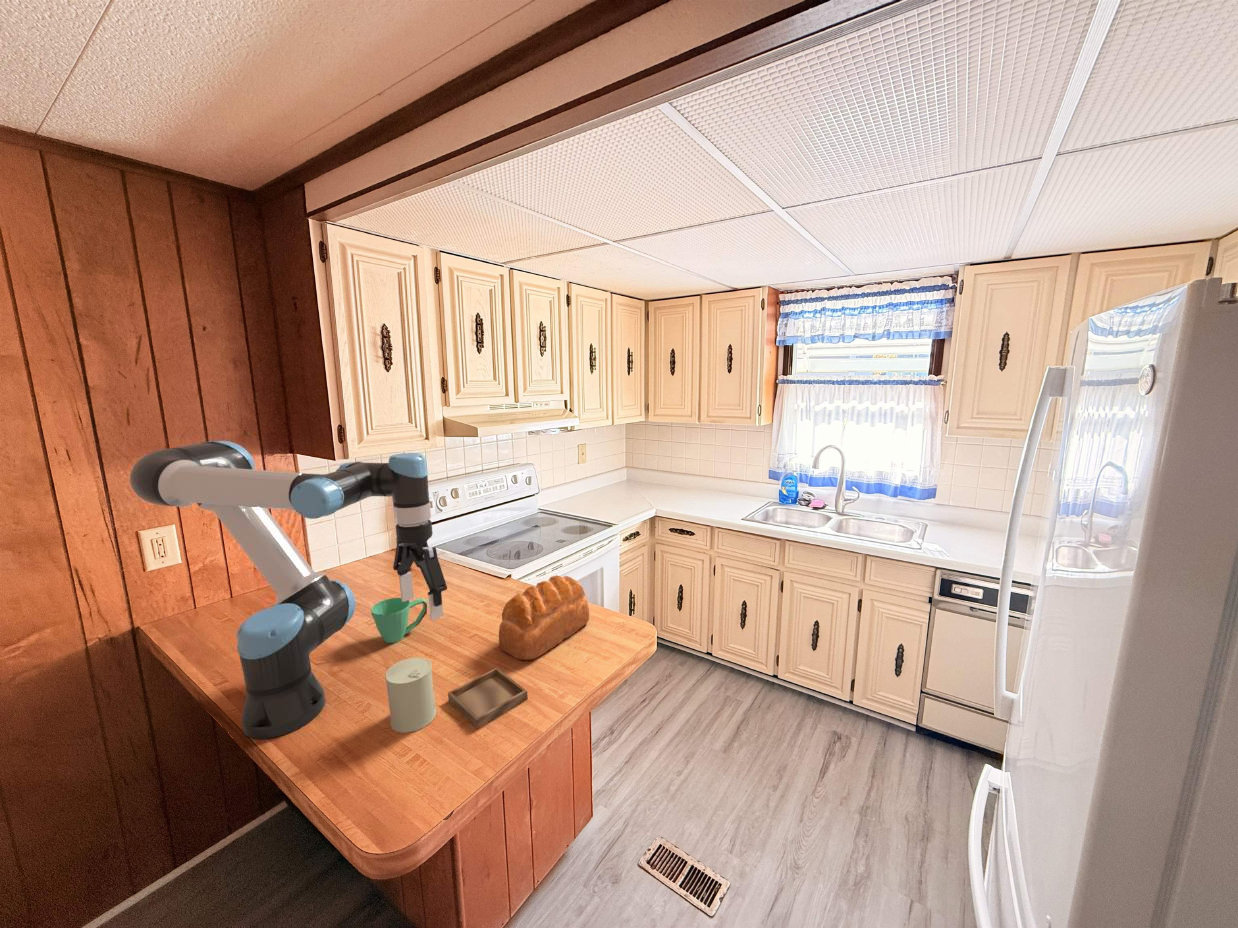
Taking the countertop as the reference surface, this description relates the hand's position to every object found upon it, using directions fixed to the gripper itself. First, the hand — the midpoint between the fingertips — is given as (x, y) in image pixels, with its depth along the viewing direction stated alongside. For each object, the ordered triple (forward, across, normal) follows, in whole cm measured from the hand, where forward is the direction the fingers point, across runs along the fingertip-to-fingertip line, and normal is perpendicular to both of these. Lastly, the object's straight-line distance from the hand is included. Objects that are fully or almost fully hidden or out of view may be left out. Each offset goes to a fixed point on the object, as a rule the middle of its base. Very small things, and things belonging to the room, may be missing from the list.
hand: (421, 608), depth 112 cm
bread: (+19, -7, -32) cm, 38 cm away
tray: (+19, -17, -5) cm, 26 cm away
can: (+19, -9, +8) cm, 23 cm away
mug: (+20, +25, -6) cm, 32 cm away
